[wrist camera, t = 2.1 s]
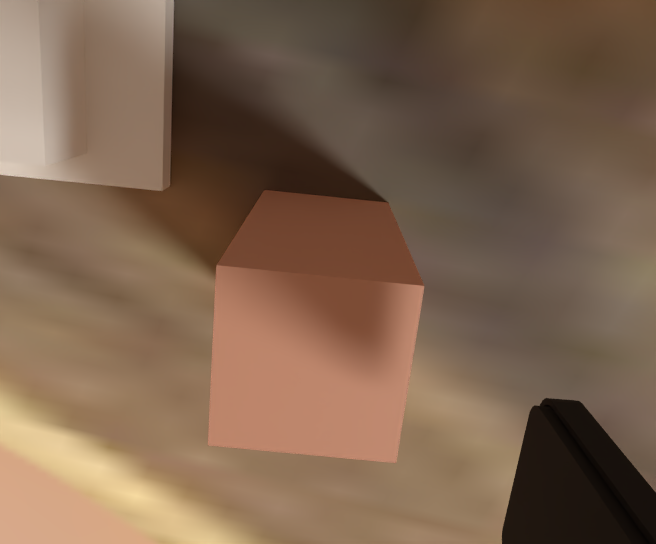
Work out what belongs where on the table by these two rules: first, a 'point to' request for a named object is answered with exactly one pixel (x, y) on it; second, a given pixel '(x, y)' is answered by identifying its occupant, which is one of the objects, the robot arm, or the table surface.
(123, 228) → the table surface
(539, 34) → the table surface
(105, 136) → the socket stand
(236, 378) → the peg
